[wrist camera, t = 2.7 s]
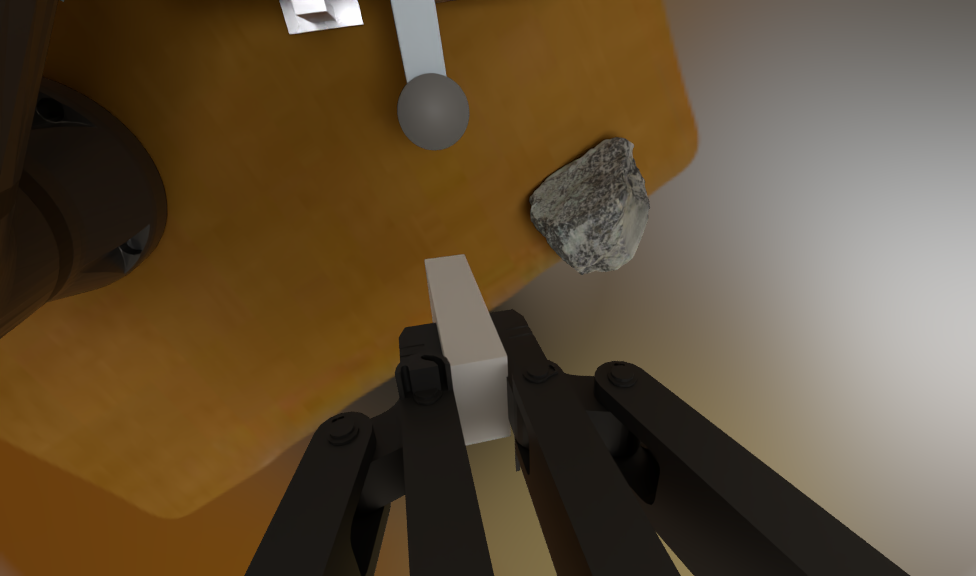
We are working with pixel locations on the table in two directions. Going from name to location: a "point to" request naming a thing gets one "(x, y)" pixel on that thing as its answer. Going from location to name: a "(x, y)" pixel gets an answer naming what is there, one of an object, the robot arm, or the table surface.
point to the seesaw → (426, 79)
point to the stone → (594, 208)
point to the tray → (442, 1)
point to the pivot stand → (320, 14)
